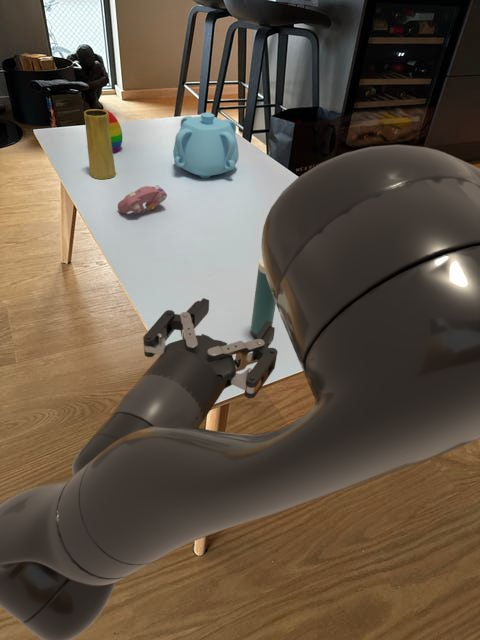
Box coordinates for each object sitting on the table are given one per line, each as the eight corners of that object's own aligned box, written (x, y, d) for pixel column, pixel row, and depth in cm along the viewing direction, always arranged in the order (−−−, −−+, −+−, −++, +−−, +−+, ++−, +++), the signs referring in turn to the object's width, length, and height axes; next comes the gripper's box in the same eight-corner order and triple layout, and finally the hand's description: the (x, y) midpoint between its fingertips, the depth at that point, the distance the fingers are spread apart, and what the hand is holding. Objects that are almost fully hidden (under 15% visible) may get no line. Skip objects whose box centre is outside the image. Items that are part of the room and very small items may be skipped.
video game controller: (125, 224, 98) (132, 203, 92) (114, 208, 99) (120, 185, 93) (164, 212, 103) (172, 191, 98) (153, 197, 104) (161, 175, 98)
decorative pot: (181, 154, 127) (181, 101, 118) (239, 161, 126) (243, 108, 118) (167, 177, 114) (166, 120, 106) (232, 185, 114) (236, 128, 105)
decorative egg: (101, 157, 121) (97, 117, 114) (86, 147, 125) (81, 108, 119) (129, 151, 125) (126, 112, 119) (113, 142, 130) (110, 104, 123)
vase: (101, 181, 109) (94, 118, 100) (84, 173, 112) (75, 111, 103) (121, 174, 113) (115, 113, 104) (104, 167, 116) (97, 106, 107)
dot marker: (273, 330, 73) (284, 259, 65) (267, 342, 71) (279, 271, 62) (253, 324, 74) (262, 254, 65) (247, 337, 71) (256, 265, 63)
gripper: (235, 408, 41) (296, 309, 53) (102, 353, 45) (186, 272, 57) (229, 458, 46) (287, 357, 57) (110, 404, 50) (186, 320, 61)
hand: (237, 315), depth 57 cm, fingers open, 8 cm apart
